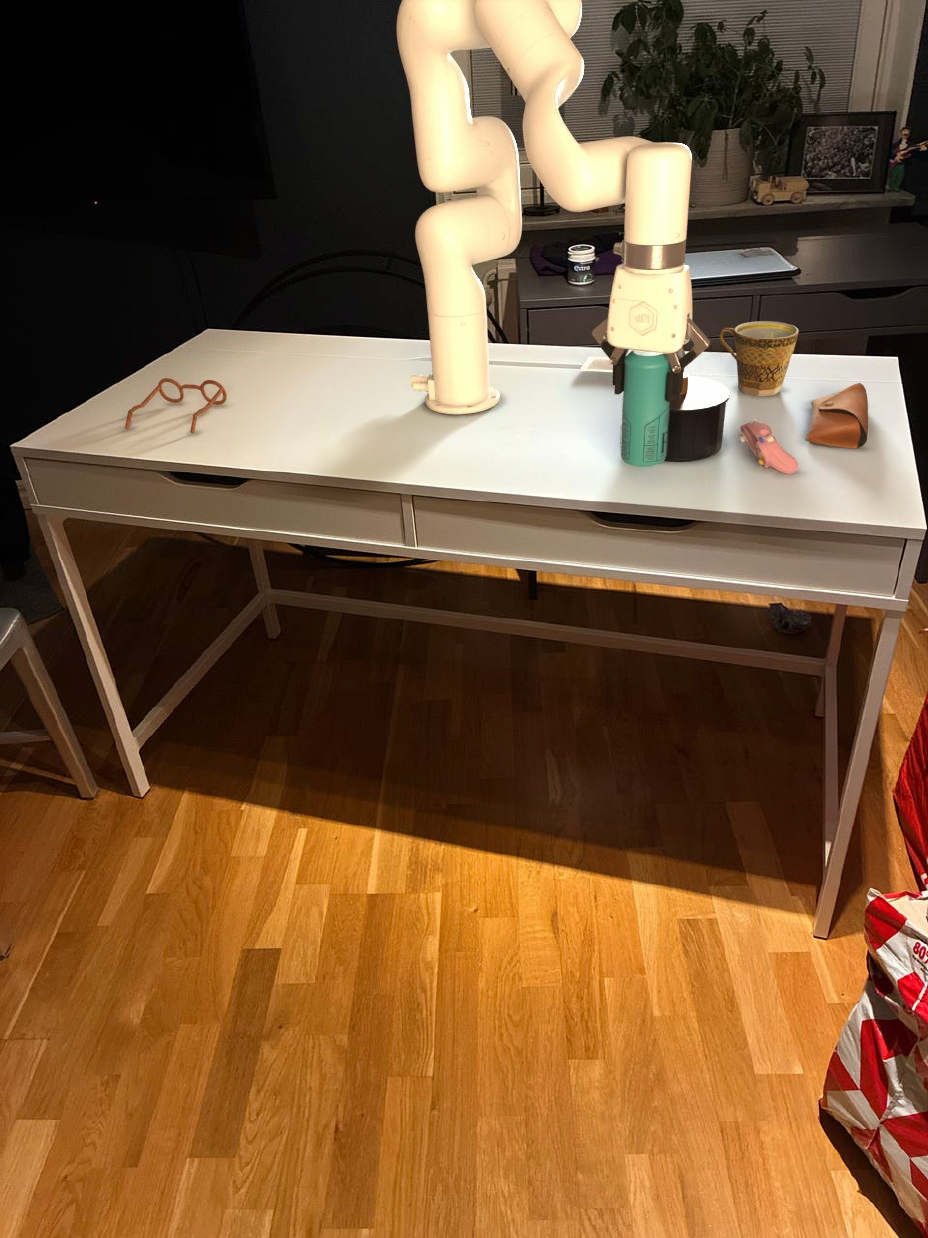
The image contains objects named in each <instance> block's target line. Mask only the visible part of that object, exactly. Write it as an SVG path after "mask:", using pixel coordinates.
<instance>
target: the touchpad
mask: <svg viewBox="0 0 928 1238" xmlns="http://www.w3.org/2000/svg"><path fill="white" fill-rule="evenodd" d="M579 371H581V372H598V373H599V372H601V373H613V365H612V364H611V363H610V361H609V357H602V356H588V358H587V359H586V360H585V362H584V363H583V364H582V366H581V367H580V368H579Z"/></svg>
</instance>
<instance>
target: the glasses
mask: <svg viewBox="0 0 928 1238" xmlns="http://www.w3.org/2000/svg"><path fill="white" fill-rule="evenodd" d="M163 383H170V384H173V385H174V386H175V387H176V388H177V389H178V391H179V397H178V398H170V397H169V396H168V395H167V394H166V393H165V392H164V390H163ZM207 385H213V386H216V387H217V388H218V390H217V392H216V393H215V394H214V395H213V396H212V397H211V398H210V397H209V396H208V395H207V393H206V391H205V386H207ZM184 389H190V390H191V389H192V390H193V389H194V390H199V391H200V393H201V395H202V397H203V398H204V400H205V401H206V402H208V403H207V404H206V405H205V406H204V407H202V408H200V409H198V410H196V412H195V413H194V414H193V415H192V420H191V425H190V429H189V430H190V431H189V432H190V433H191V434H195V430H196V425H197V419H198V416H200V415H201V414H203V413H205V412H207V411H209V409H210V408H211V407H212V406H213V405H216V406H221V405H224V404H225V403H226V401H227V398H228V396H227V391H226V389H225V387H224V386H223V384H221V383H220V382H218V381H216V380H214V379H207V380H204V381H203V382H201V383H200V385H197V384H190V383H189V384H188V383H187V384H182V385H181V383H179V382H178V381H176V380H175V379H173V378H168V377H165V378H162V379H160V380H159V381H158V383H157V386H155V388H154V389H153V390H152V391H151V392H150V393H149V394H148V396H147V397H146V398H145V399H144V400H143V401H142V402H141V403H140V404H137V405H134V406H133V407H131V408H130V409H129V410H128V411H127V414H126V415H127V416H126V421H125V426H124V428H125V429H126V430H130V427H131V422H132V416H133V413H134V412H135V411H137V410H139V409H142V408H144V407H145V406H147V404H148V403H149V402H150V401H151V400H152V399H153V398H154V397H155V396H156V394H158V392H159V394H160V396H161V397H162V398H163V399H164V400H165V401H167V402H169V403H173V404H178V403H181V402H182V401H183V400H184V397H185V394H184ZM221 395H222V398H221V400H218V398H219V397H220V396H221Z"/></svg>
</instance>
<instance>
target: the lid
mask: <svg viewBox="0 0 928 1238" xmlns="http://www.w3.org/2000/svg"><path fill="white" fill-rule="evenodd" d="M730 395H731V394H730V389H728V387H726V385H724V384H722V383H719V382H717V381H714V380H712V379H708V378H703V377H697V376H690V375H689V374H688V373H685V372H684V377H683V389H682V392H681V394H680V395H678V397H677V398H675V399H674V400H673V401H672V402H670V405H669V412H670V413H695V412H702V411H707V410H712V409H715V408H718V407H720V406H722V405H724V404H725V403H726V404H727V403H728V401H729V400H730Z"/></svg>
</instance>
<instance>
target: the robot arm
mask: <svg viewBox="0 0 928 1238" xmlns="http://www.w3.org/2000/svg"><path fill="white" fill-rule="evenodd" d="M582 5H583V3H582V0H401V3H400V5H399V8H398V11H397V17H396V40H397V47H398V52H399V57H400V60H401V63H402V68H403V69H404V70H403V71H404V75H405V78H406V81H407V86H408V90H409V97H410V106H411V107H410V108H411V119H412V127H413V135H414V145H415V154H416V163H417V168H418V169H417V170H418V173H419V177H420V180H421V183H422V184H423V186H424V187H425V188H426V189H427V190H429V191H430V192H433V193H439V194H440V193H441V194H442V193H450V192H451V193H452V192H457V191H464V190H469V189H474V188H475V191H476V196H474V197H473V196H472V197H468V198H462V199H456V200H450V201H446V202H442V203H437V204H436V205H433V206H431V207H429V208H428V209H426V210H425V211H423V213H421V214H420V216H419V218H418V219H417V221H416V224H415V231H414V238H415V244H416V249H417V253H418V256H419V260H420V265H421V268H422V273H423V278H424V279H423V280H424V287H425V297H426V309H427V318H428V331H429V344H430V345H429V346H430V357H431V368H432V369H431V371H432V374H428V376H424V375H411V376H410V386H411V387H412V390H413V391H419V392H421V391H425V392H426V393H427V394H426V395H425V399H424V400H425V406H426V407H427V408H428V409H429V410H431V411H434V412H436V413H440V414H445V415H446V414H447V415H470V414H476V413H480V412H484V411H487V410H489V409H491V408H493V407H495V406H496V405H497V404H498V403H499V402H500V392H499V391H498V390H497V388H494V387H493V386H491V385H490V362H489V361H490V360H489V339H488V338H489V336H488V318H487V317H488V316H487V315H488V313H487V299H486V291H485V289H484V286H483V284H482V281H480V279H479V278H478V276H477V274H476V273H475V271H474V269H473V266H475V265H476V264H480V263H484V262H488V261H492V260H497V259H500V258H503V257H506V256H508V255H510V254H511V253H513V252H515V250H516V249H517V247H518V245H519V244H520V240H521V237H522V230H523V217H522V199H521V198H522V197H521V181H520V162H519V151H518V147H517V143H516V140H515V137H514V134H513V132H512V130H511V129H510V127H509V126H508V125H507V124H506V122H504V121H503V120H502V119H500V118H499V117H496V116H490V115H485V116H476V117H472V114H471V107H470V94H469V93H470V91H469V86H468V83H467V80H466V77H465V75H464V74H463V71H462V69H461V68H460V66H459V65H458V63H457V62H456V60H455V59H454V57H453V56H452V55H451V53H452V52H454V51H468V50H470V51H471V50H480V49H481V50H482V49H491V50H492V52H493V53H494V55H495V56H496V58H497V60H498V61H499V63H500V64H501V66H502V67H503V69H504V70H505V72H506V74H507V76H509V78H510V80H511V82H512V83H513V85H514V86H515V88H516V89H517V91H518V93H519V94H520V96H521V97H522V99H523V101H524V103H525V106H524V112H523V115H522V116H523V117H522V135H523V144H524V150H525V154H526V157H527V160H528V163H529V164H530V167H531V168H532V170H533V171H534V173H535V175H536V176H537V178H538V179H539V181H540V184H542V186H543V188H544V189H545V190H546V192H547V193H548V195H549V196H550V197H551V198H552V199H553V201H554V202H555V203H556V204H557V205H558V206H560V207H561V208H563V210H566V211H569V212H573V213H582V212H587V211H592V210H597V209H602V208H605V207H612V206H617V205H618V206H619V205H623V204H624V226H623V227H624V230H623V239H622V241H621V242H615V243H614V245H613V251H612V252H613V254H614V255H618V256H620V257H621V264H618V265H616V268H615V271H614V276H613V281H612V285H611V291H610V298H609V306H608V313H607V317H606V318H605V319H604V320H603V321H602V322H601V323H600V324H598V325H597V326H596V327H594V329H593V330H592V331H591V335H592V336H593V337H592V338H594V339H595V341H596V342H597V343H598V345H600V349H601V350H602V351H603V353H604V354H605V355H606V356H607V358H609V361H610V363H611V364H612V365H613V372H612V380H611V381H612V384H611V385H612V386H613V387H614V395H616V396H617V395H621V394H623V392H624V368H625V363H624V359H625V357H626V356H627V355H628V354H629V353H628V352H629V351H630V350H631V351H632V350H638V351H646V352H655V353H665V354H666V355H667V357H668V360H669V363H670V366H671V371H669V372H668V374H667V387H666V401H667V402H672V401H673V400H674V399H675V398H677V397H678V395H680V394H681V392H682V389H683V377H684V373H685V369H686V367H687V366H688V365H690V364H691V363H692V362H693V361H695V359H697V358H698V357H699V356H700V355H701V354H703V352H705V350H706V349H708V348H709V347H710V346H711V340H710V339H709V338H708V337H707V336H706V335H705V333H704V332H703V331H702V329H700V328H699V327H698V325H697V324H696V323H695V322H694V321H693V288H692V279H691V272H690V266H689V265H687V264H685V260H686V248H687V247H686V246H687V231H688V219H689V204H690V193H691V192H690V190H691V180H692V179H691V177H692V165H693V164H692V163H693V162H692V161H693V157H692V152H691V150H690V148H689V147H688V146H687V145H685V144H683V143H679V142H667V141H666V142H653V141H650V140H647V139H645V138H642V137H638V136H633V135H631V136H630V135H629V136H618V137H614V138H613V137H612V138H605V139H600V140H593V141H586V142H581V143H579V142H578V141H577V140H576V139H575V138H574V136H573V134H572V133H571V132H570V130H569V128H568V127H567V125H566V124H565V122H564V120H563V118H562V116H561V114H560V111H559V108H560V107H561V106H563V104H564V103H565V102H566V101H567V100H568V99H570V98H571V96H572V95H573V94H574V92H575V91H576V89H577V88H578V86H579V85H580V83H581V81H582V79H583V76H584V69H585V64H584V59H583V56H582V54H581V53H580V51H579V50H578V48H577V47H576V45H575V44H574V43H573V41H572V39H571V38H572V37H573V36H574V35H575V33H576V32H577V30H578V29H579V26H580V23H581V19H582V11H583V9H582V8H583V6H582ZM690 340H691V342H693V347H692V348H691V349H690V350H689V351H687V352H686V351H685V349H684V347H683V346H684V345H686V344H687V343H689V342H690Z"/></svg>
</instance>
